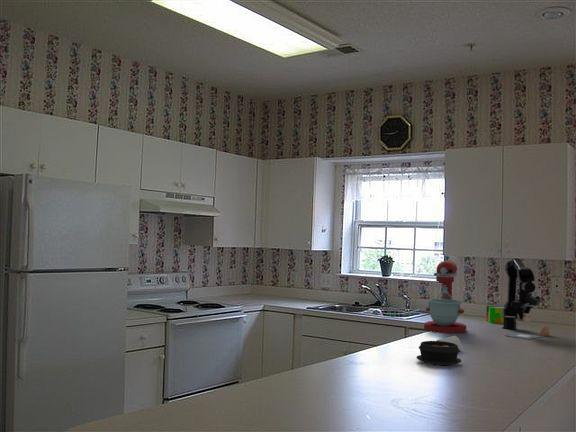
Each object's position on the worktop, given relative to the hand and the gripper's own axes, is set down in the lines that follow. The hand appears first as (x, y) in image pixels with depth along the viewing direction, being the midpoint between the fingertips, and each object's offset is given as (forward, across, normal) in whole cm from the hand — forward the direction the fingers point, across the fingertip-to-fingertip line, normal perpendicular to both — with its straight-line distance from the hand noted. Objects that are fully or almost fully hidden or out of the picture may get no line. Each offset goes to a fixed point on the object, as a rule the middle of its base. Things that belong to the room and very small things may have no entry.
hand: (523, 319), depth 343 cm
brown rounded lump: (+10, +15, -5) cm, 18 cm away
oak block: (+1, 0, 0) cm, 1 cm away
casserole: (+10, -106, -16) cm, 108 cm away
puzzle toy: (+10, +42, +40) cm, 59 cm away
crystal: (+10, -82, -4) cm, 83 cm away
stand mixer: (+10, -18, +39) cm, 44 cm away
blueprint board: (+10, 0, 0) cm, 10 cm away
